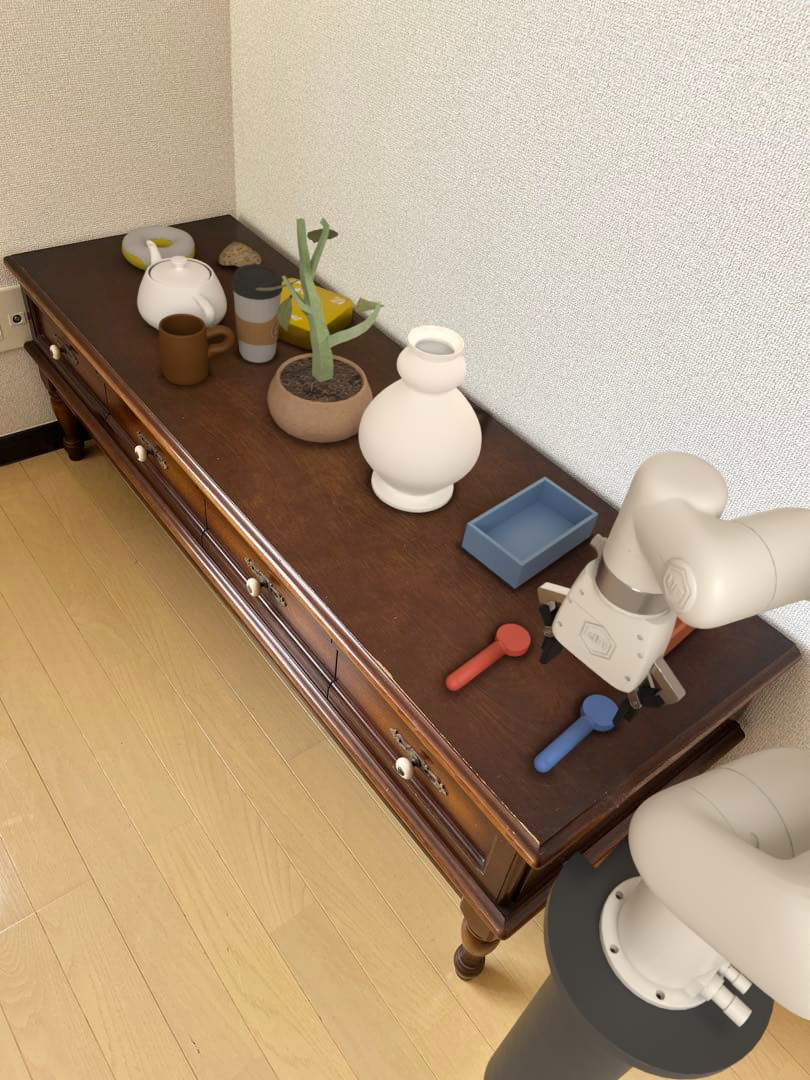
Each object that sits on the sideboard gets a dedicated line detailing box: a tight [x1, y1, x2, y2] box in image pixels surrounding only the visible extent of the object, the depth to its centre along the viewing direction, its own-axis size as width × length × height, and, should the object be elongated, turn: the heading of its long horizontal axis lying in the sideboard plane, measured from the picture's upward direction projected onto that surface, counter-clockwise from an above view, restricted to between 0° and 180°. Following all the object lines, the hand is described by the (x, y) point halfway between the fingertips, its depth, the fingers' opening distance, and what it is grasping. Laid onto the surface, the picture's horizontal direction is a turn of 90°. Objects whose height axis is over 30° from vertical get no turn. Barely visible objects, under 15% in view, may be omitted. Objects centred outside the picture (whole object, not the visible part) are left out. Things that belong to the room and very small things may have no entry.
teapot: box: [136, 240, 228, 331], centre depth 146 cm, size 25×16×12 cm, turn 36°
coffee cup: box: [231, 263, 283, 364], centre depth 140 cm, size 8×8×15 cm
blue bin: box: [461, 476, 599, 590], centre depth 117 cm, size 17×10×5 cm, turn 133°
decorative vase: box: [358, 324, 482, 513], centre depth 116 cm, size 18×18×25 cm
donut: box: [121, 225, 196, 272], centre depth 163 cm, size 14×14×5 cm
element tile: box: [277, 277, 354, 351], centre depth 153 cm, size 15×15×5 cm
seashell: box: [218, 241, 263, 268], centre depth 167 cm, size 8×6×8 cm
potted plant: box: [256, 217, 386, 444], centre depth 126 cm, size 22×18×30 cm
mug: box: [158, 314, 235, 387], centre depth 135 cm, size 12×8×9 cm, turn 102°
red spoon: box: [445, 623, 532, 692], centre depth 101 cm, size 14×4×2 cm, turn 133°
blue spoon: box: [533, 694, 619, 774], centre depth 95 cm, size 14×4×2 cm, turn 133°
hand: (585, 686), depth 86 cm, fingers open, 9 cm apart
